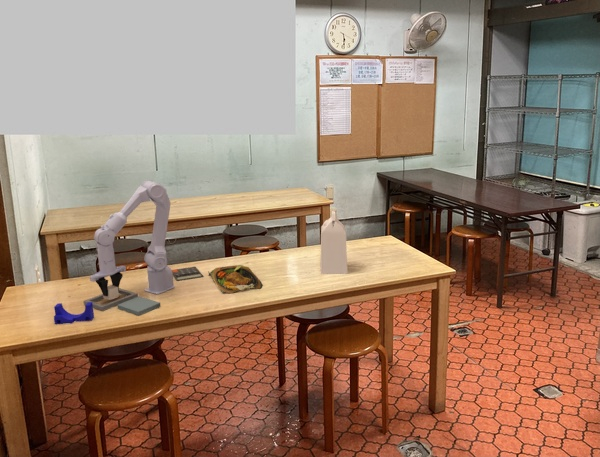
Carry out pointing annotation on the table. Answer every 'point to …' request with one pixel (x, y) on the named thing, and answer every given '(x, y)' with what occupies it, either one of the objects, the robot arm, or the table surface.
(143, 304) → the slate pad
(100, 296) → the pocket frame
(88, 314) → the cable clip
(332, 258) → the milk
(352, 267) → the table surface
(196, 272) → the calculator
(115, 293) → the cream block
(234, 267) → the prepared meal
